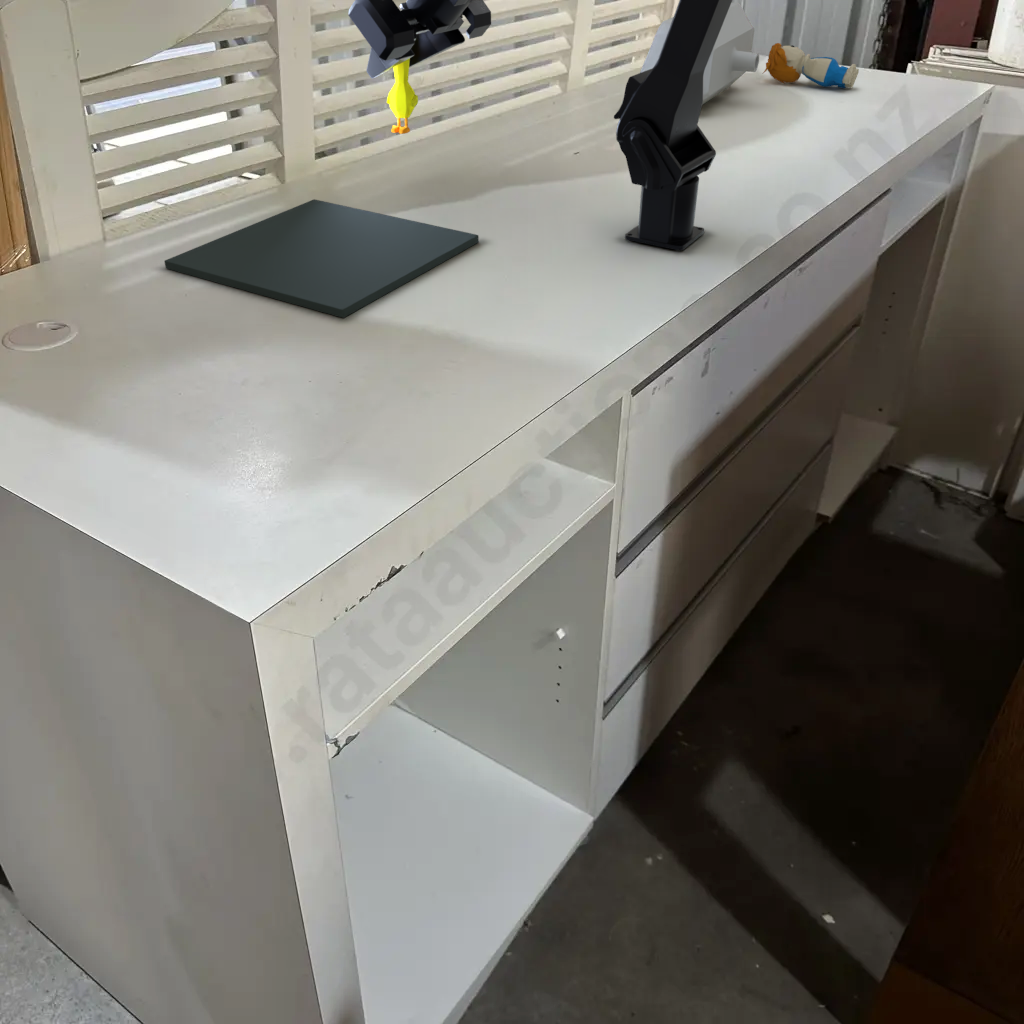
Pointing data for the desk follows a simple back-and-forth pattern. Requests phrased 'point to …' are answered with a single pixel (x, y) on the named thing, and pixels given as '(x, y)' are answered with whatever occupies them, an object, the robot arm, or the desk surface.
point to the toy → (808, 68)
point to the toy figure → (402, 97)
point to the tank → (718, 52)
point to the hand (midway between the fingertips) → (386, 70)
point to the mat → (324, 256)
